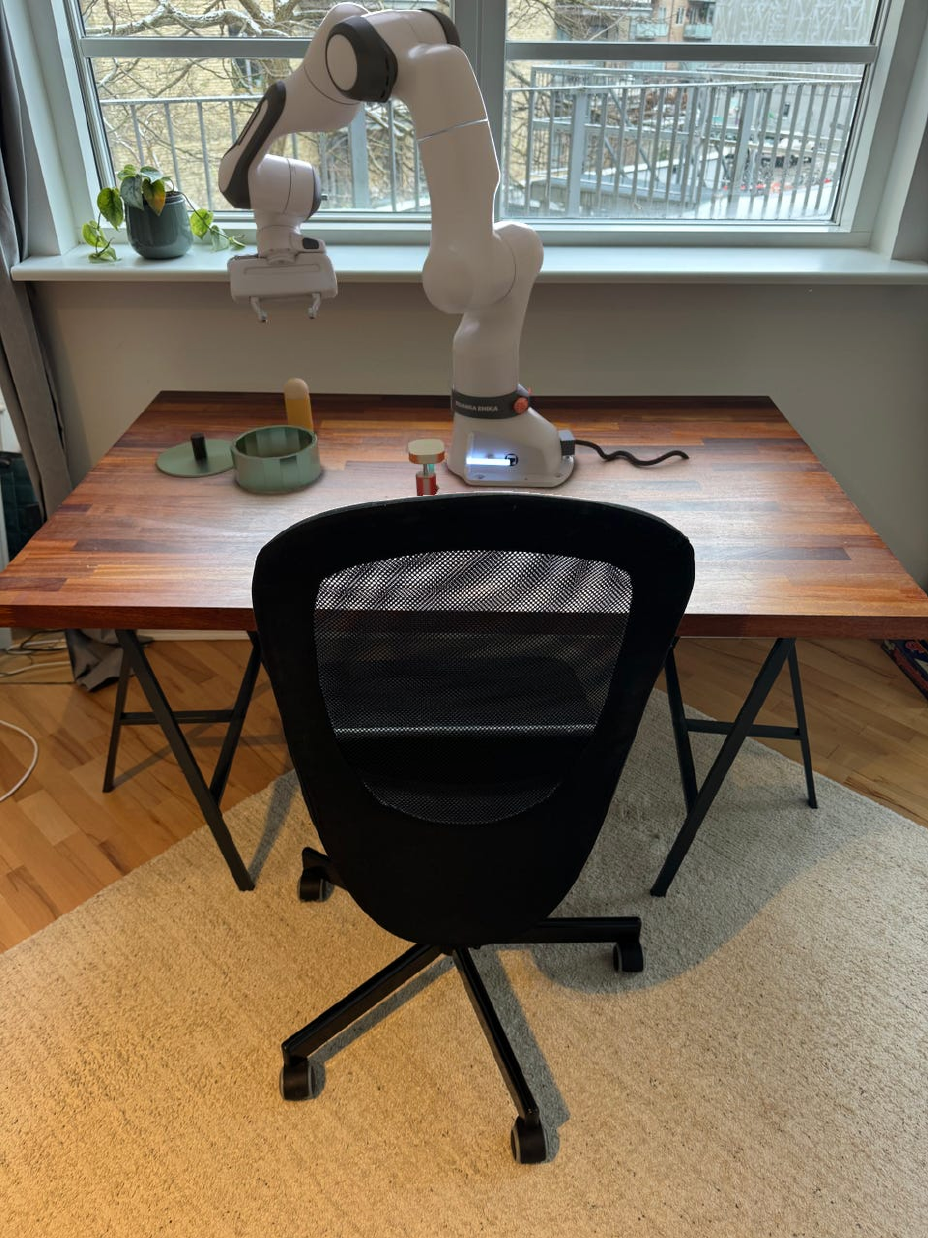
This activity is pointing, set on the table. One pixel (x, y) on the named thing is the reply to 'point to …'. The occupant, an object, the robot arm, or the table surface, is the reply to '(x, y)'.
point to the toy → (298, 404)
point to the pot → (276, 458)
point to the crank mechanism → (426, 454)
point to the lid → (197, 457)
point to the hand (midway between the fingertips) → (288, 319)
